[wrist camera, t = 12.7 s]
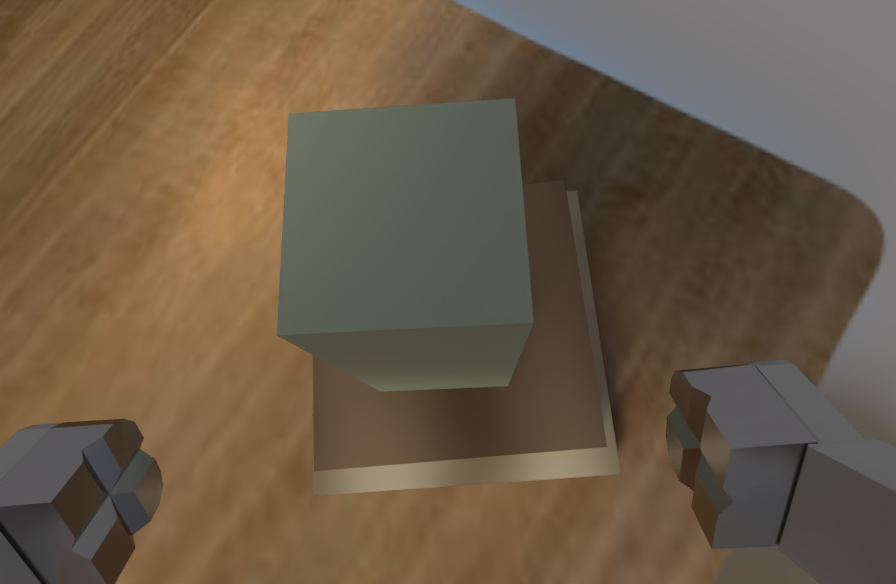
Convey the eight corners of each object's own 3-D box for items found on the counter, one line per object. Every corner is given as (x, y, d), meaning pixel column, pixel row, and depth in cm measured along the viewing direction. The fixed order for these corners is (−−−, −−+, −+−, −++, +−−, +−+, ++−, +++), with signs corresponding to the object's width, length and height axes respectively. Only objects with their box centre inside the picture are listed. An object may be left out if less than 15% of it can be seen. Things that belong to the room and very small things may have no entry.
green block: (380, 391, 19) (276, 335, 10) (380, 271, 20) (288, 113, 11) (507, 386, 19) (534, 322, 9) (499, 264, 20) (515, 98, 11)
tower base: (334, 490, 24) (312, 495, 21) (331, 241, 28) (312, 217, 25) (605, 471, 23) (620, 474, 21) (568, 217, 27) (577, 190, 24)
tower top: (337, 468, 21) (313, 471, 19) (332, 235, 24) (311, 206, 21) (591, 447, 21) (607, 446, 18) (555, 212, 24) (564, 179, 21)
